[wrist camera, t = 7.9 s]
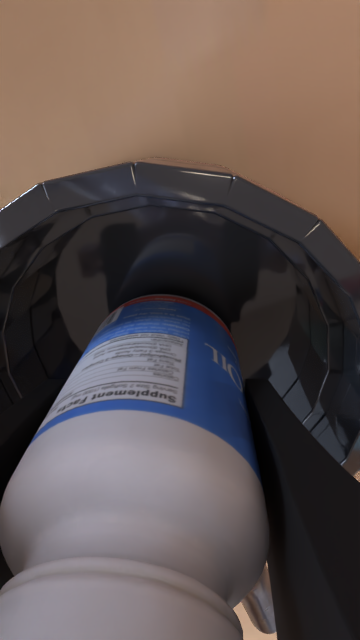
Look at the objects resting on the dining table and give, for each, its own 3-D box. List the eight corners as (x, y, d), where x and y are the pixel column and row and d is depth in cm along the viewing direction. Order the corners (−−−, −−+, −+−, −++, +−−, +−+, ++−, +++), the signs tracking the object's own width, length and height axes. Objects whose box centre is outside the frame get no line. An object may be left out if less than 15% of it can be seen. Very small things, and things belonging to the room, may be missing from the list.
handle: (194, 485, 15) (193, 526, 13) (234, 477, 14) (239, 518, 13) (250, 600, 19) (255, 642, 17) (283, 596, 18) (291, 639, 17)
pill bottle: (243, 401, 14) (318, 835, 5) (116, 415, 14) (-9, 817, 6) (227, 275, 11) (317, 684, 3) (76, 298, 12) (-241, 684, 3)
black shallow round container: (125, 482, 18) (104, 576, 14) (-63, 275, 13) (-175, 330, 9) (378, 392, 15) (444, 483, 11) (251, 66, 10) (288, 9, 6)
